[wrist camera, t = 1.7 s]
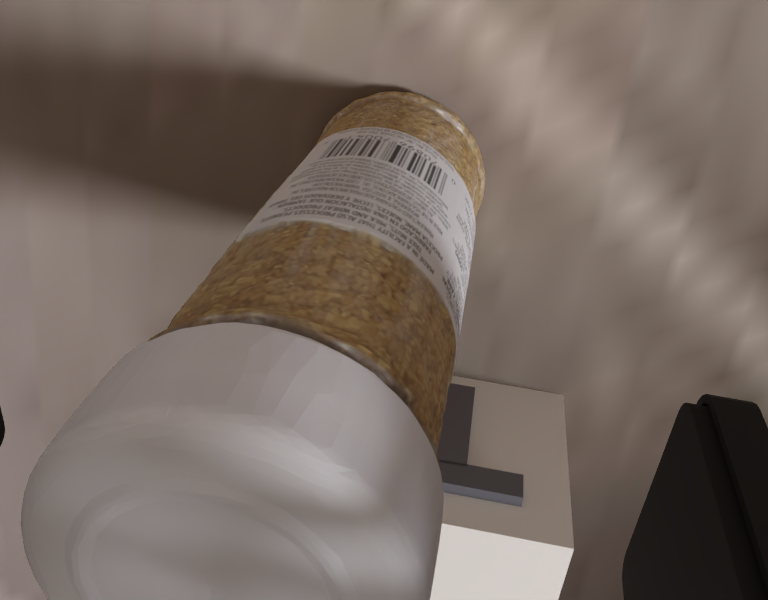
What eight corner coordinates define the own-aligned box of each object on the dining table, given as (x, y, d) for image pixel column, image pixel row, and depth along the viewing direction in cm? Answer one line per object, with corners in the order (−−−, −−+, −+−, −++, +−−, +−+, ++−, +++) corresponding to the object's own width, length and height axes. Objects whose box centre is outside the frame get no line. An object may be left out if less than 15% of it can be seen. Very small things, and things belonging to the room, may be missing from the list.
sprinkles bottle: (288, 195, 20) (-42, 606, 8) (370, 48, 18) (76, 336, 6) (428, 282, 21) (299, 781, 9) (525, 151, 18) (521, 590, 7)
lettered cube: (525, 536, 25) (524, 706, 20) (351, 502, 25) (305, 658, 20) (565, 385, 22) (576, 539, 16) (365, 350, 22) (315, 489, 17)
